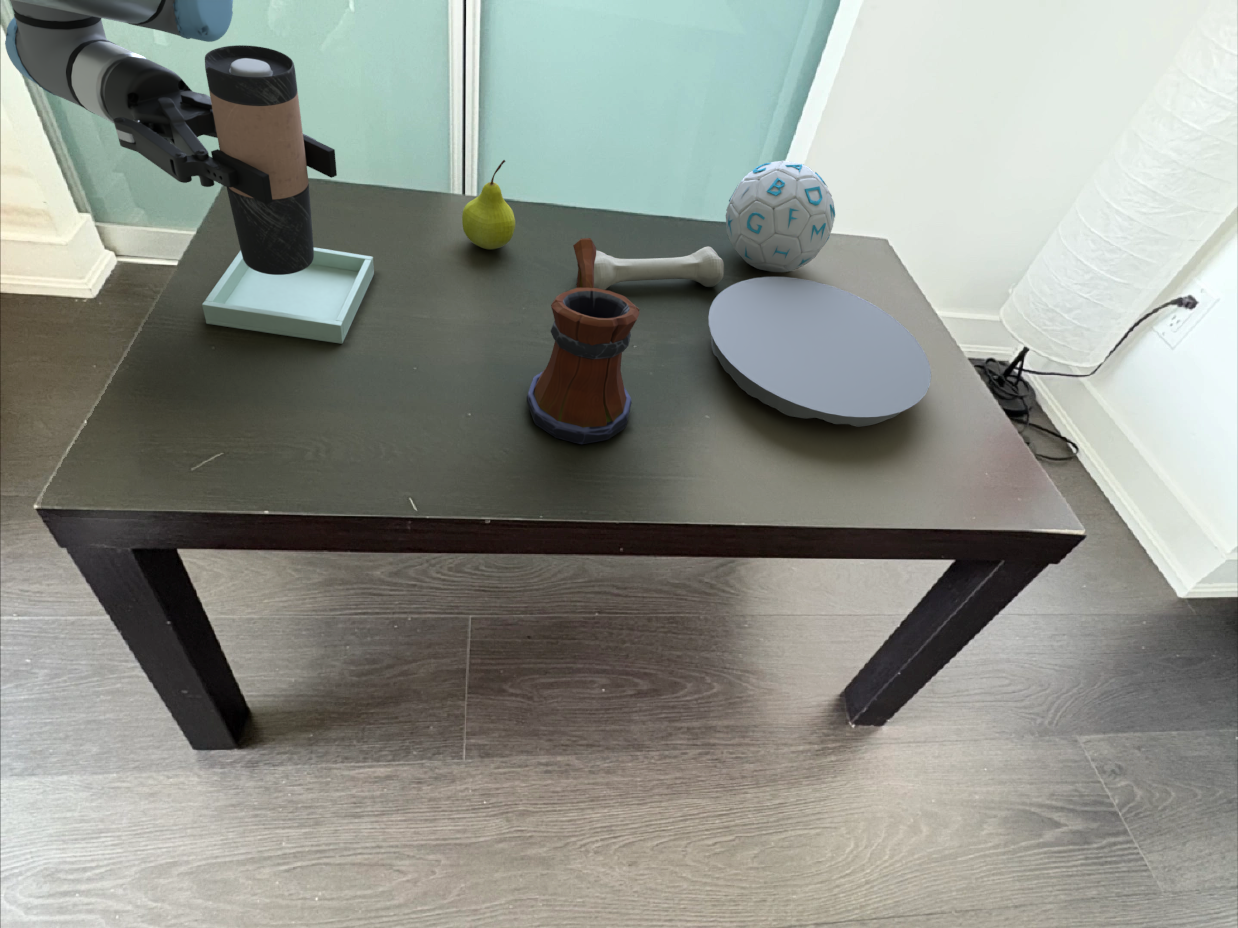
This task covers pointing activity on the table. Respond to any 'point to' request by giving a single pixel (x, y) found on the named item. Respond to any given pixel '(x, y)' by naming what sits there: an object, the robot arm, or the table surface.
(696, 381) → the table surface
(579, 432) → the mug
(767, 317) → the flat disc
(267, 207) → the travel mug
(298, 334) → the tray
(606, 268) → the dog toy
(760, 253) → the puzzle ball
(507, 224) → the fruit
